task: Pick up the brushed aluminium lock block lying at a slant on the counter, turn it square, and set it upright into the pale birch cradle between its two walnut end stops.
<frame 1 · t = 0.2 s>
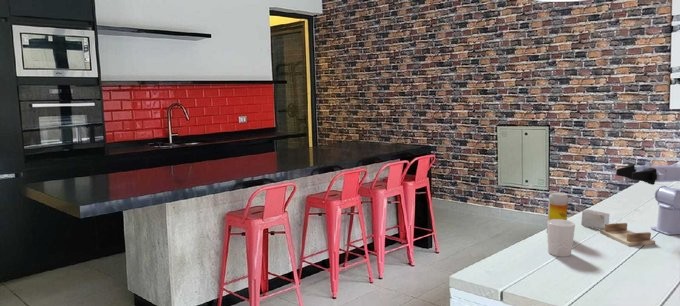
hand: (624, 174, 181), 21 cm above the table, tool horizontal, fingers open, 7 cm apart
beer can: (555, 236, 183), on the table
aluminium lock block: (594, 227, 194), on the table
white cup: (559, 253, 166), on the table
birch cradle: (626, 238, 180), on the table
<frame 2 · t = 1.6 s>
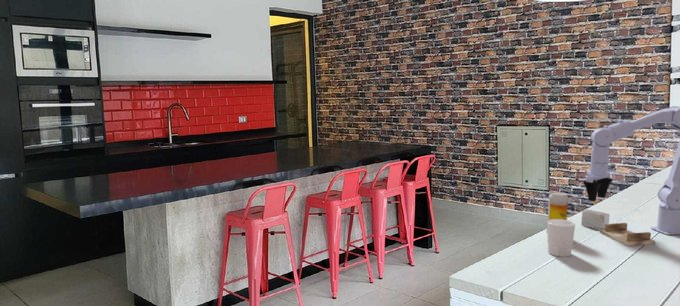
hand: (596, 199, 192), 10 cm above the table, tool pointing down, fingers open, 7 cm apart
nothing on the table moved.
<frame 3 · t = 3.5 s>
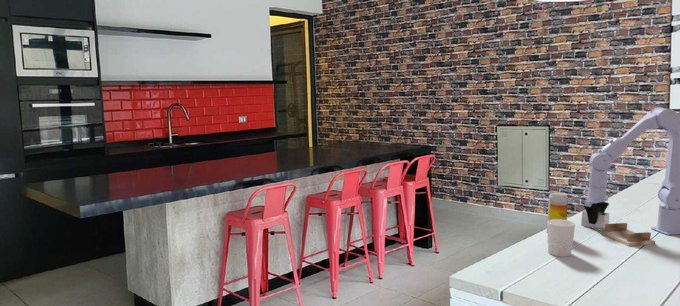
hand: (595, 222, 193), 2 cm above the table, tool pointing down, fingers closed on aluminium lock block, 4 cm apart
aluminium lock block: (594, 226, 194), on the table, touching gripper
everything else where it was.
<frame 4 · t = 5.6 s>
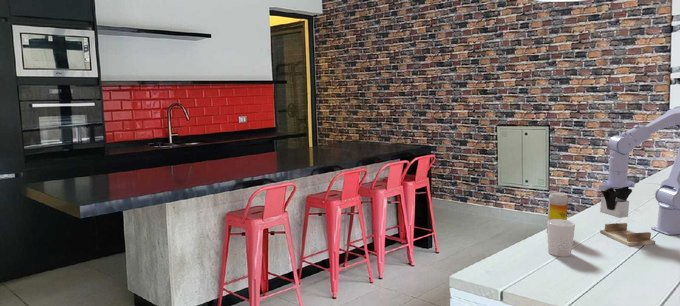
hand: (615, 208, 184), 9 cm above the table, tool pointing down, fingers closed on aluminium lock block, 4 cm apart
aluminium lock block: (613, 214, 185), point 7 cm above the table, touching gripper
everything else where it was.
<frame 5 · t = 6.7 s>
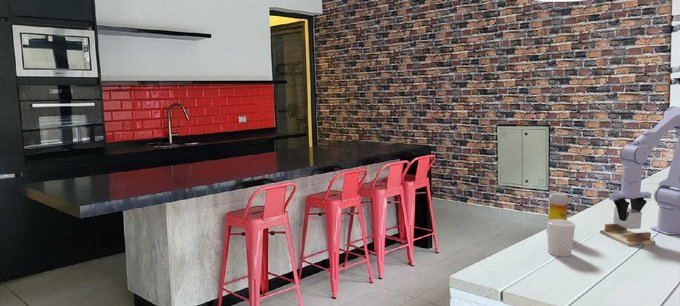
hand: (628, 219, 179), 7 cm above the table, tool pointing down, fingers closed on aluminium lock block, 4 cm apart
aluminium lock block: (626, 225, 180), point 4 cm above the table, touching gripper
everything else where it was.
when the fingers open (4 cm above the table, at t = 7.6 s): aluminium lock block stays where it is, resting on birch cradle.
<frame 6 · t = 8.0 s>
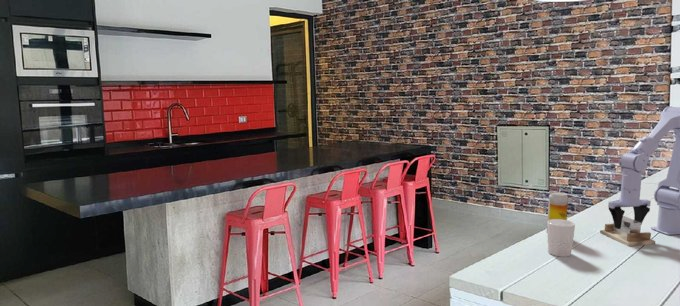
hand: (627, 227, 180), 4 cm above the table, tool pointing down, fingers open, 7 cm apart
aluminium lock block: (626, 235, 181), point 1 cm above the table, touching birch cradle
everything else where it was.
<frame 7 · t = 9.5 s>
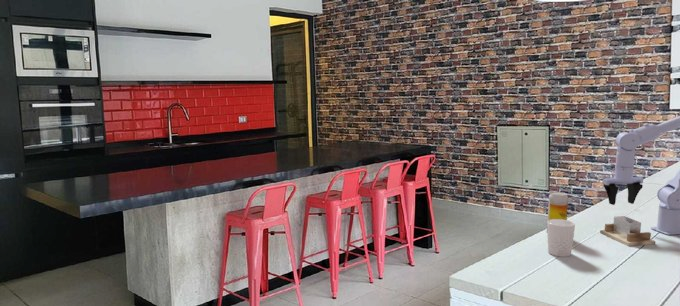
hand: (621, 203, 189), 9 cm above the table, tool pointing down, fingers open, 7 cm apart
nothing on the table moved.
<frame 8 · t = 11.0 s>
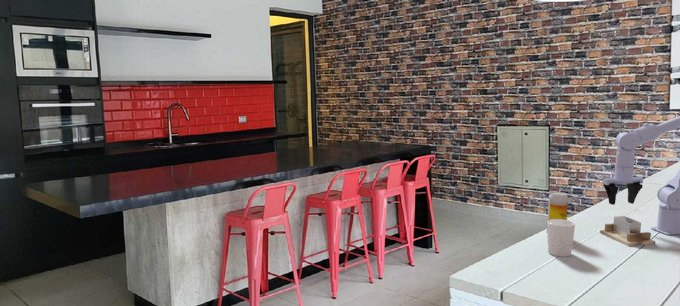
hand: (621, 203, 189), 9 cm above the table, tool pointing down, fingers open, 7 cm apart
nothing on the table moved.
at the end: aluminium lock block 0.4 cm off-centre on the birch cradle, point 1.0 cm above the birch cradle's base; aluminium lock block tilted 0°; the gripper is holding nothing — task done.
